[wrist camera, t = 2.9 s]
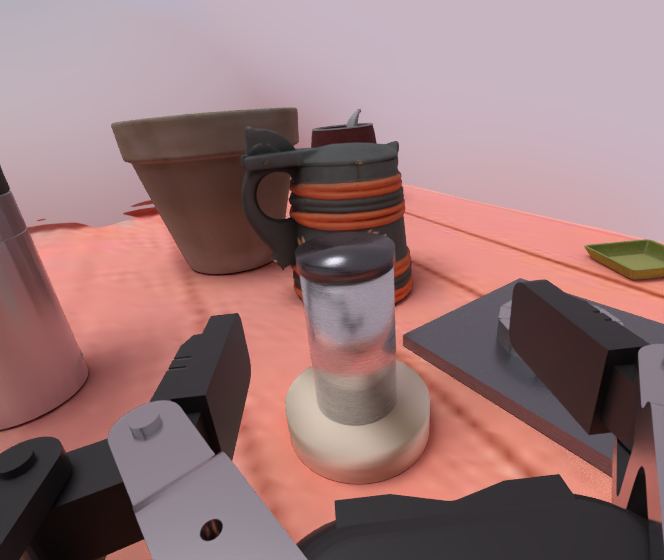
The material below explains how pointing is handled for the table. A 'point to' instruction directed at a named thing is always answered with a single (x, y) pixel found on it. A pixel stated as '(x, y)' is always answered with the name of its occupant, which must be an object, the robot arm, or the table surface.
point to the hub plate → (514, 367)
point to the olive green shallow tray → (631, 258)
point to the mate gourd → (344, 133)
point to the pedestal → (360, 432)
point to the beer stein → (327, 196)
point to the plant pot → (207, 181)
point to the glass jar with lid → (350, 324)
